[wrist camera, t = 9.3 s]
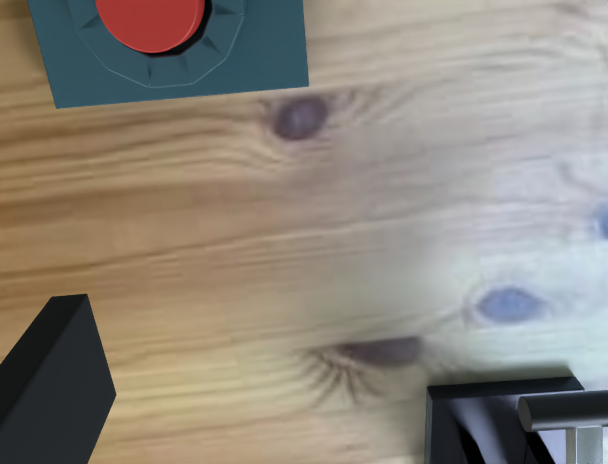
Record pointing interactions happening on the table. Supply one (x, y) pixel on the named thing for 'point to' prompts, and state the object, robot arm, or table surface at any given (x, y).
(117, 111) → the table surface
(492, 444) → the bracket
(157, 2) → the button
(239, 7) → the button box
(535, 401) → the lever
